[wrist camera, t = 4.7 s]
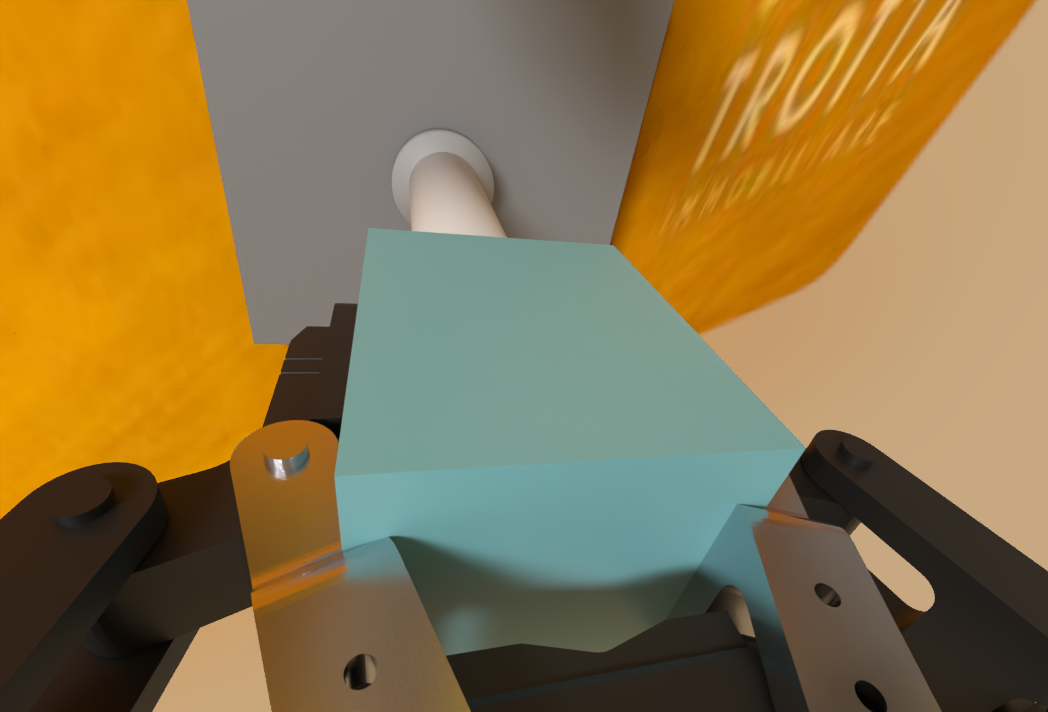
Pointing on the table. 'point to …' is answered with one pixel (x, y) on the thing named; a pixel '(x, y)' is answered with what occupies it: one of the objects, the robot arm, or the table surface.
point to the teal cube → (540, 438)
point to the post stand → (415, 129)
